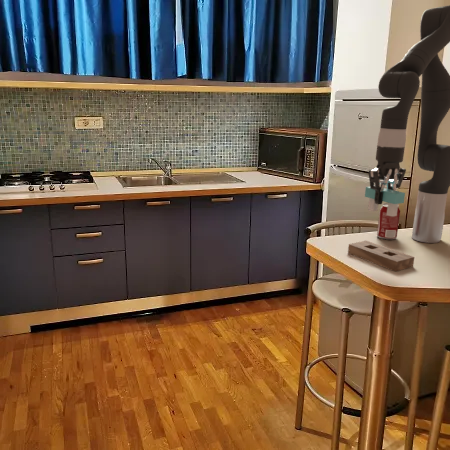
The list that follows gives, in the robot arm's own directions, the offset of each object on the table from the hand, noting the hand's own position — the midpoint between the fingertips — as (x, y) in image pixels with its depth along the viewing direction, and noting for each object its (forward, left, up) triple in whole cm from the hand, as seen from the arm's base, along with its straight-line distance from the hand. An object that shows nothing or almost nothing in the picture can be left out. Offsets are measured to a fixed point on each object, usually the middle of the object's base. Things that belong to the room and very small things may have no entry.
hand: (383, 202), depth 134 cm
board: (0, +1, -18) cm, 18 cm away
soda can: (-21, -13, -18) cm, 31 cm away
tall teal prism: (0, 0, -3) cm, 3 cm away
